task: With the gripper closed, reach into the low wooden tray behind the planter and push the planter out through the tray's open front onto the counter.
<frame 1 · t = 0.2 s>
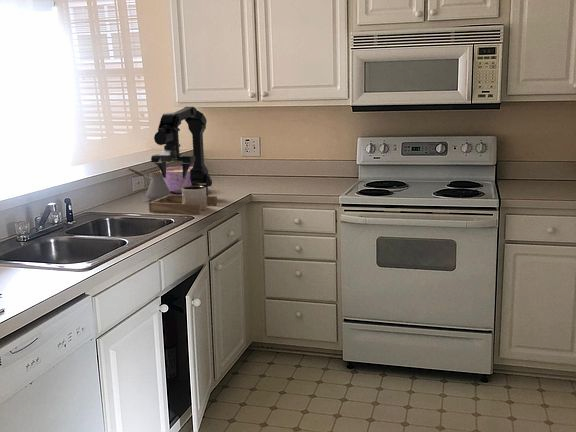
hand: (174, 178, 276), 14 cm above the worktop, fingers open, 9 cm apart
planter: (194, 209, 280), on the worktop
coffee pot: (149, 200, 304), on the worktop
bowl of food: (181, 191, 325), on the worktop
wooden tray: (184, 208, 282), on the worktop
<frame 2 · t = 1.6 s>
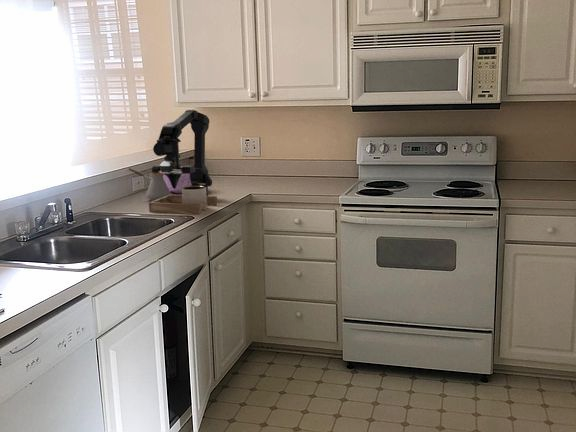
hand: (174, 188, 281), 9 cm above the worktop, fingers closed
nothing on the worktop moved.
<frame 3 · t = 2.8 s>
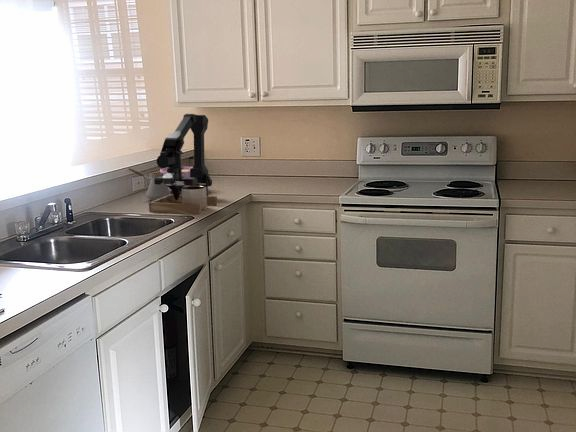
hand: (176, 200, 282), 4 cm above the worktop, fingers closed
planter: (194, 209, 280), on the worktop, touching gripper
everything else where it was.
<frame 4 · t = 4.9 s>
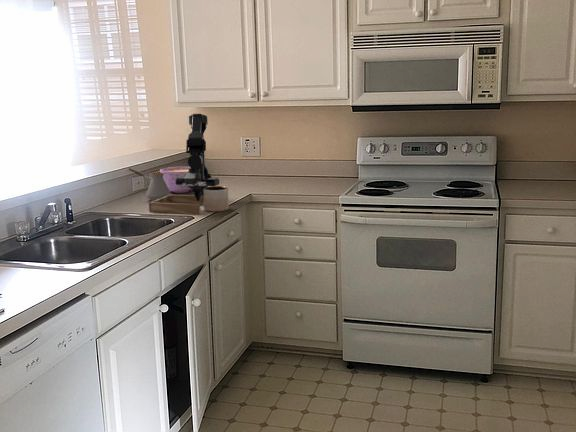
hand: (198, 200, 279), 4 cm above the worktop, fingers closed
planter: (216, 210, 277), on the worktop, touching gripper
everything else where it was.
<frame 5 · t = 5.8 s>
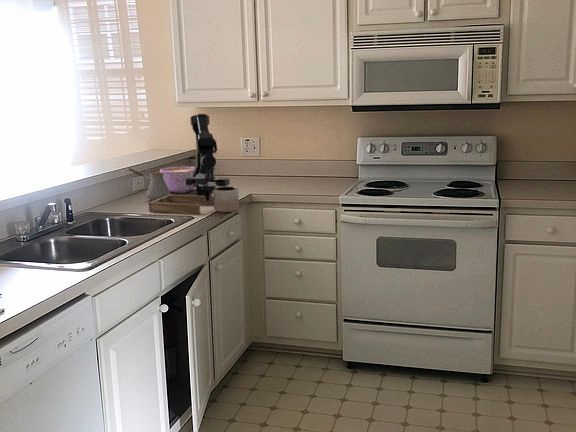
hand: (208, 201, 277), 4 cm above the worktop, fingers closed
planter: (226, 210, 276), on the worktop, touching gripper
everything else where it was.
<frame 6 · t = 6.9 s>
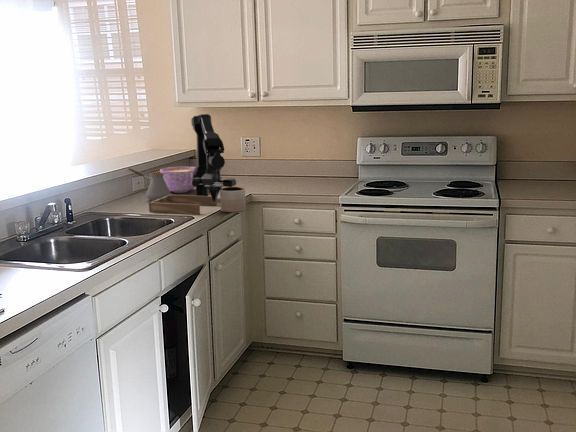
hand: (214, 201, 277), 4 cm above the worktop, fingers closed
planter: (233, 210, 275), on the worktop, touching gripper
everything else where it was.
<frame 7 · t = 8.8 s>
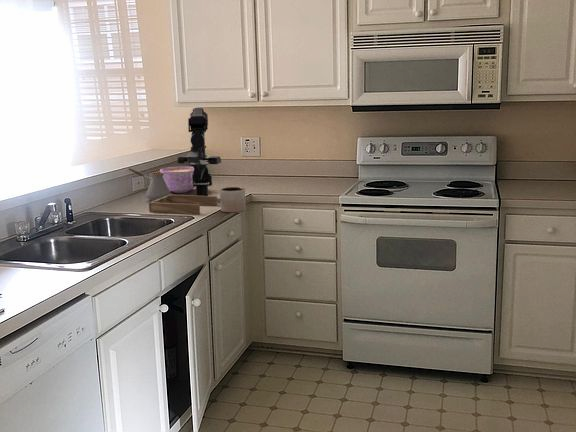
hand: (200, 179, 282), 12 cm above the worktop, fingers closed
planter: (233, 211, 275), on the worktop
everything else where it was.
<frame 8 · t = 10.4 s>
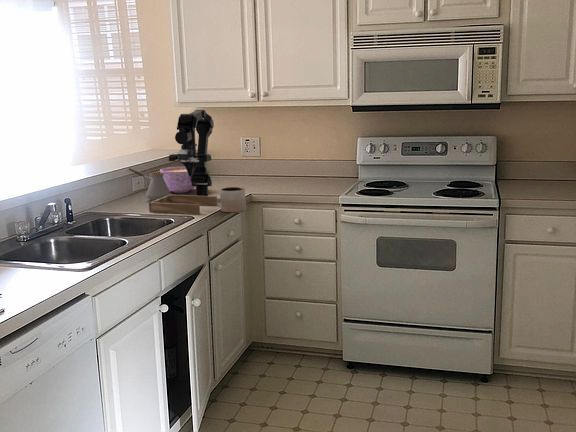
hand: (190, 176, 286), 13 cm above the worktop, fingers closed
nothing on the worktop moved.
at the end: planter inside the target area (1.3 cm from its centre), on the worktop; planter tilted 0° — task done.
